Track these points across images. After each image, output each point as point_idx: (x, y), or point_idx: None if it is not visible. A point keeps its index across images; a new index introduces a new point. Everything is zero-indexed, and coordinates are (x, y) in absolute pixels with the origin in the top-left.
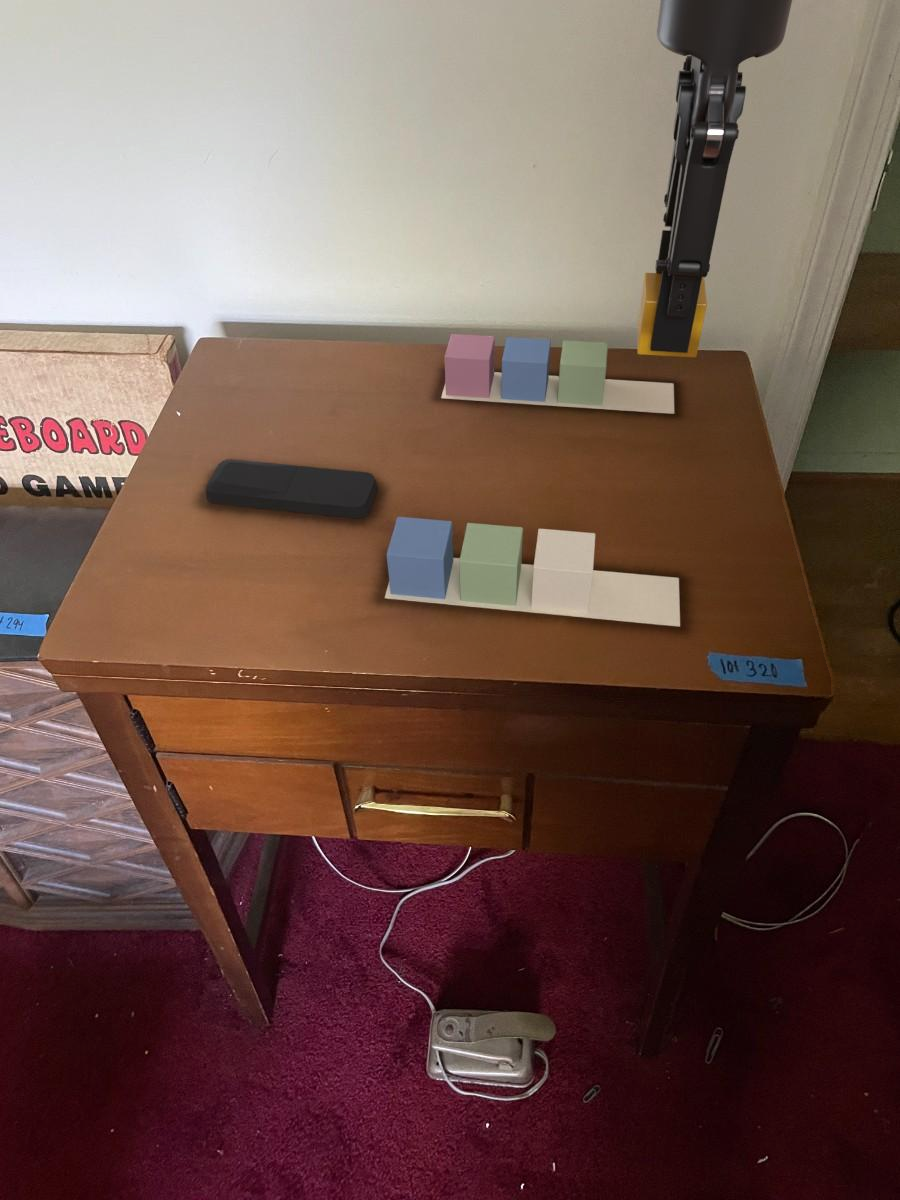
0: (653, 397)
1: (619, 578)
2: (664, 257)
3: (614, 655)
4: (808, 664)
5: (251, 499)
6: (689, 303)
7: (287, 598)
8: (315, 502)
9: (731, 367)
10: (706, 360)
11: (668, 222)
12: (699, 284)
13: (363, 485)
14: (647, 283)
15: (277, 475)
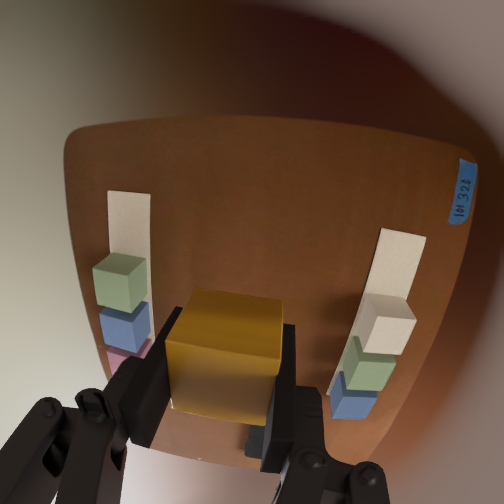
0: (129, 211)
1: (376, 273)
2: (160, 412)
3: (437, 283)
4: (463, 155)
5: None
6: (321, 410)
7: (349, 427)
8: None
9: (82, 135)
10: (74, 157)
11: (125, 449)
12: (293, 415)
13: None
14: (208, 415)
15: (260, 443)
